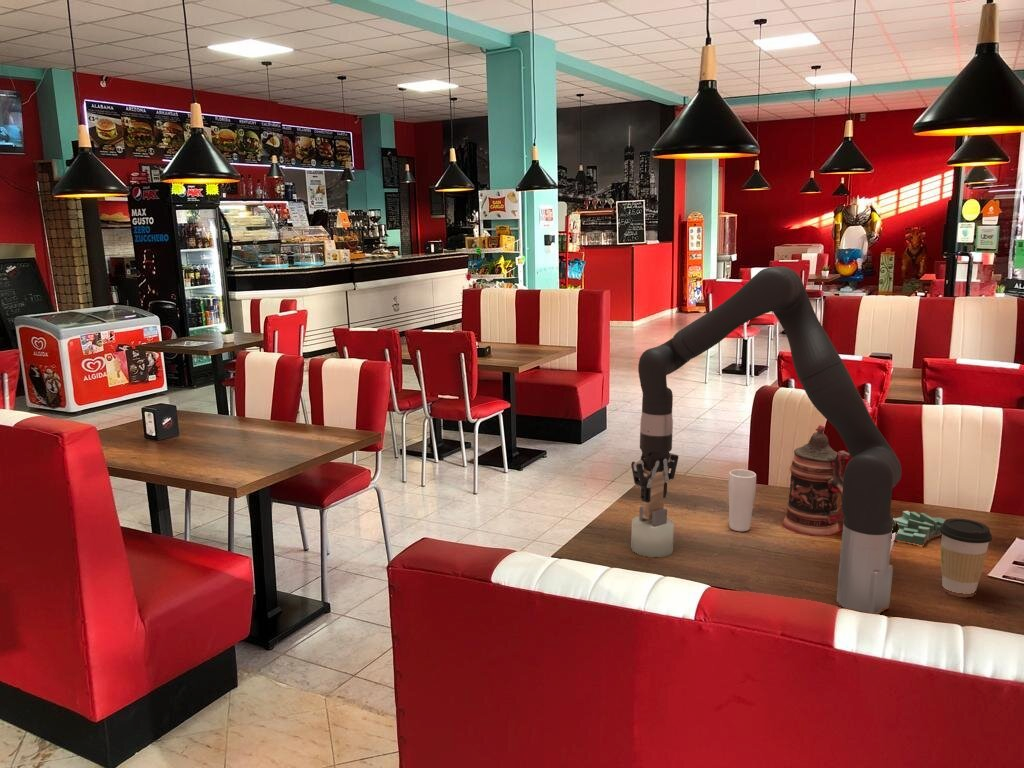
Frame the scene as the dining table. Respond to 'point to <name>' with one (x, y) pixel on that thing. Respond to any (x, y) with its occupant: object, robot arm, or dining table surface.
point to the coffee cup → (963, 554)
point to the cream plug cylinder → (652, 534)
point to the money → (917, 527)
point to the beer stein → (815, 488)
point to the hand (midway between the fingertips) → (653, 499)
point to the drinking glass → (741, 498)
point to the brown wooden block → (654, 495)
